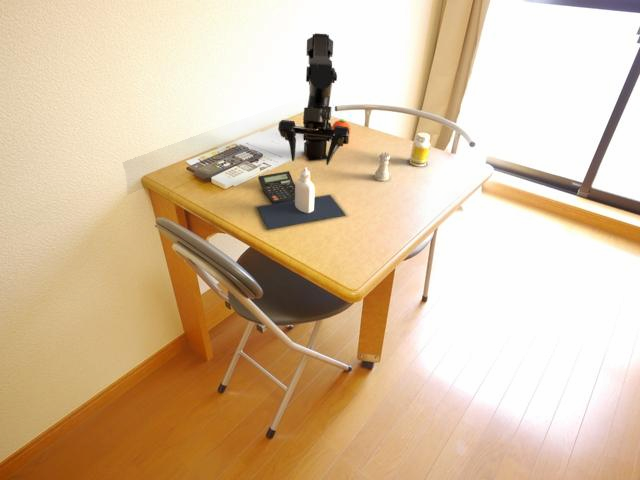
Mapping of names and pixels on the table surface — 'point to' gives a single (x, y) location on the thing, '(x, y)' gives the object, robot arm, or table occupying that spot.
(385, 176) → the rook chess piece
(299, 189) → the eye dropper bottle
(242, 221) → the table surface
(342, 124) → the clementine
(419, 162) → the supplement bottle
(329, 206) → the placemat
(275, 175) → the calculator
